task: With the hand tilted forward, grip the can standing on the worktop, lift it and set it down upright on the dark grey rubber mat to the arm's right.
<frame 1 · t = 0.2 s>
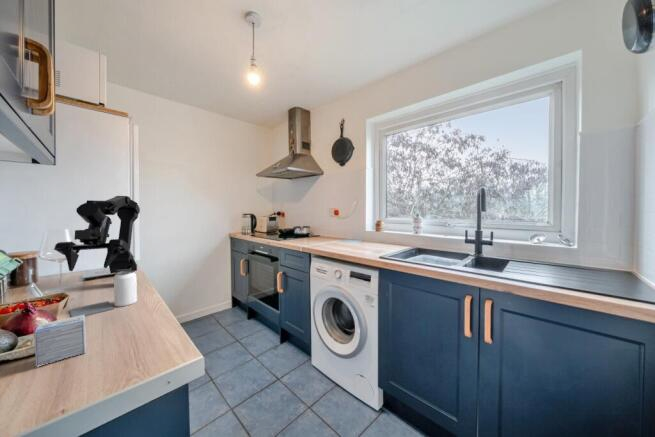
hand: (88, 269, 81), 15 cm above the countertop, tool tilted 30°, fingers open, 9 cm apart
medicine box: (62, 357, 57), on the countertop
mat: (91, 310, 83), on the countertop
can: (126, 304, 89), on the countertop
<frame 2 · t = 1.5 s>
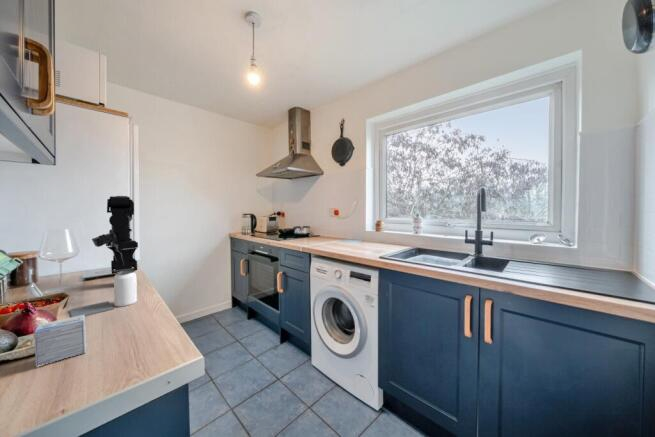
hand: (122, 264, 97), 13 cm above the countertop, tool pointing down, fingers open, 9 cm apart
nothing on the countertop moved.
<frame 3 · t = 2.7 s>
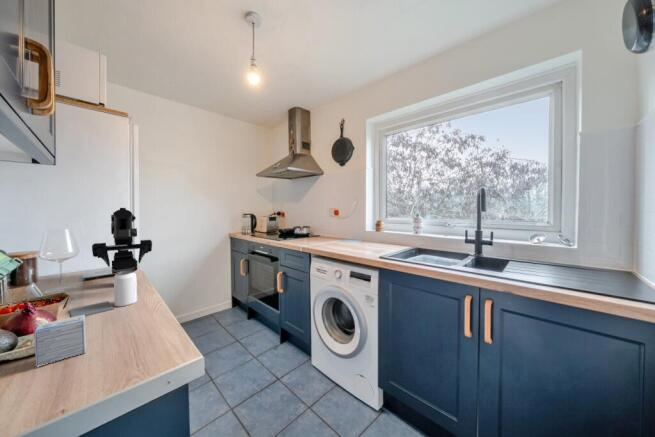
hand: (124, 264, 94), 13 cm above the countertop, tool tilted 45°, fingers open, 9 cm apart
nothing on the countertop moved.
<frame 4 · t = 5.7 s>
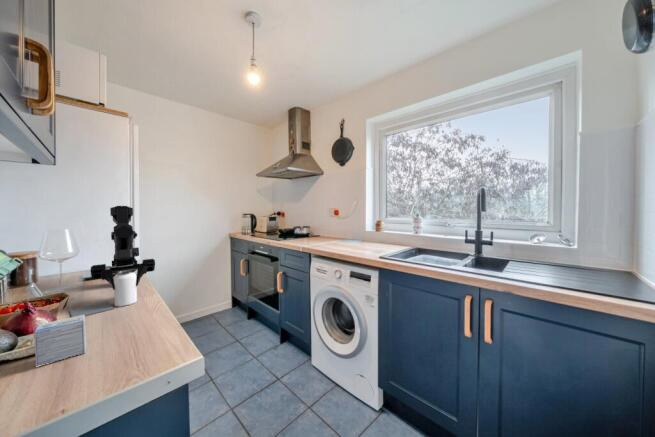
hand: (125, 287, 87), 7 cm above the countertop, tool tilted 45°, fingers closed on can, 6 cm apart
can: (126, 304, 89), on the countertop, touching gripper
everything else where it was.
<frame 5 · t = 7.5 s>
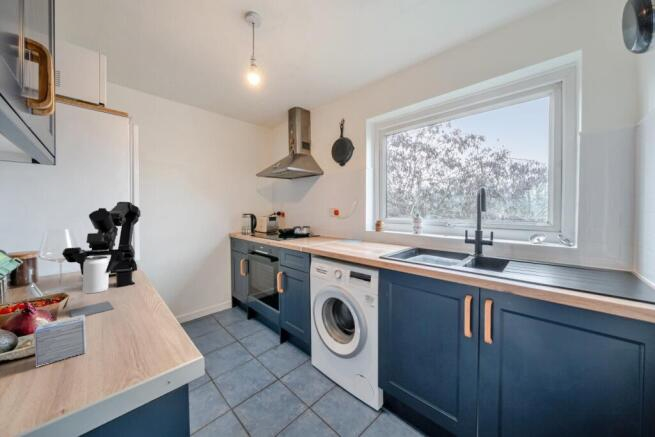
hand: (95, 273, 82), 13 cm above the countertop, tool tilted 45°, fingers closed on can, 6 cm apart
can: (95, 291, 83), point 6 cm above the countertop, touching gripper
everything else where it was.
when the fingers open (8 cm above the countertop, at t = 9.1 s): can stays where it is, resting on mat.
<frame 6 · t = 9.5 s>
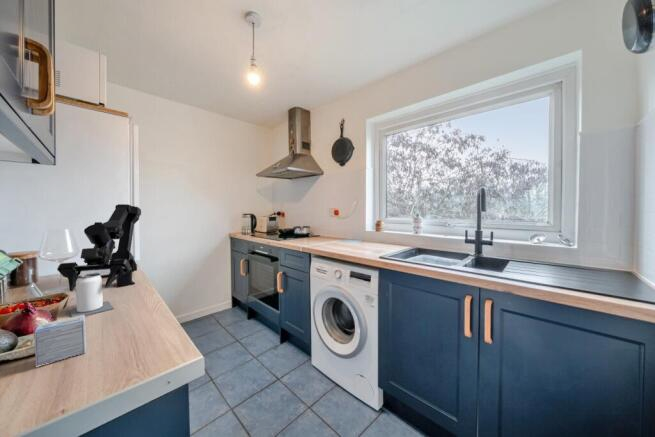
hand: (88, 288, 81), 8 cm above the countertop, tool tilted 45°, fingers open, 9 cm apart
can: (90, 309, 83), resting on mat
everything else where it was.
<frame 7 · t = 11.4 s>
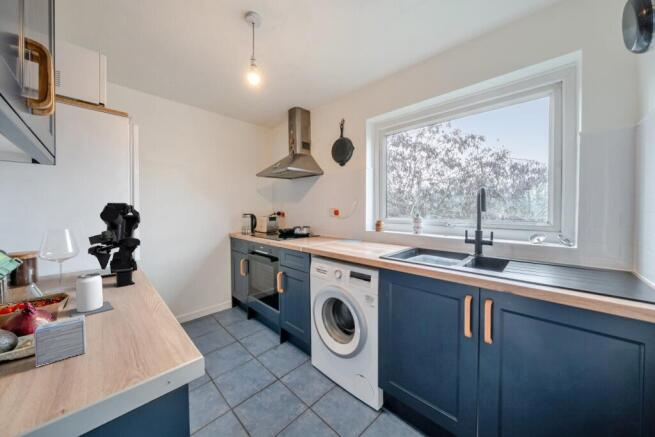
hand: (113, 266, 94), 12 cm above the countertop, tool tilted 25°, fingers open, 9 cm apart
nothing on the countertop moved.
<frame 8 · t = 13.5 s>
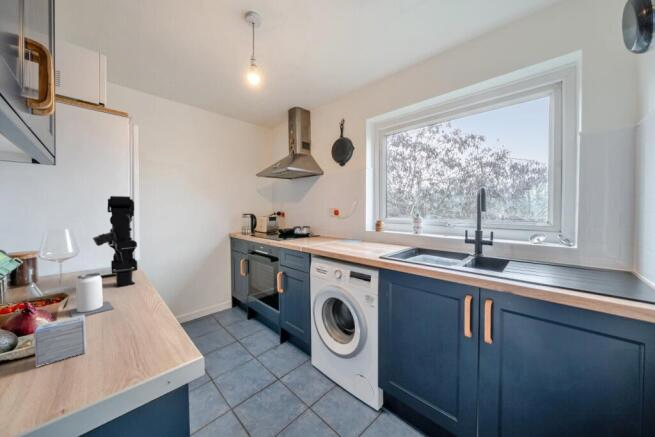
hand: (122, 262, 99), 13 cm above the countertop, tool pointing down, fingers open, 9 cm apart
nothing on the countertop moved.
at the end: can 0.5 cm from the mat (horizontally); can tilted 0°; the gripper is holding nothing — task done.
